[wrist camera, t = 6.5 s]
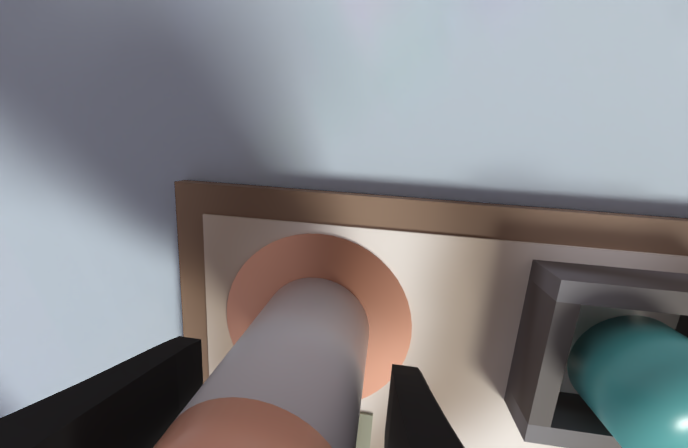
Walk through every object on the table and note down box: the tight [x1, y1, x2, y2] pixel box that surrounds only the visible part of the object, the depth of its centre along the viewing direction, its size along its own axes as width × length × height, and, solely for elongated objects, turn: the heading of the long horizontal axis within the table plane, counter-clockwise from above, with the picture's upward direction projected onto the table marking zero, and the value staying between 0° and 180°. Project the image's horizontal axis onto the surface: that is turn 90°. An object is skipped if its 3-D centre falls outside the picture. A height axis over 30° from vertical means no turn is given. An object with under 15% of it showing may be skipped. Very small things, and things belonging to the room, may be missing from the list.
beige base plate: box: [175, 180, 688, 448], centre depth 11 cm, size 18×14×2 cm
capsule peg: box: [153, 278, 369, 448], centre depth 7 cm, size 4×4×7 cm
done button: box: [567, 315, 688, 448], centre depth 8 cm, size 3×3×2 cm
